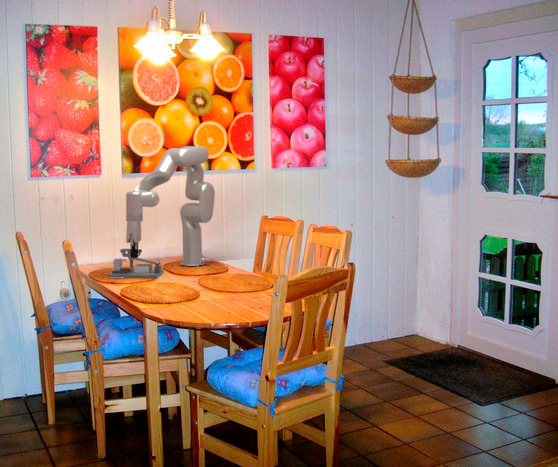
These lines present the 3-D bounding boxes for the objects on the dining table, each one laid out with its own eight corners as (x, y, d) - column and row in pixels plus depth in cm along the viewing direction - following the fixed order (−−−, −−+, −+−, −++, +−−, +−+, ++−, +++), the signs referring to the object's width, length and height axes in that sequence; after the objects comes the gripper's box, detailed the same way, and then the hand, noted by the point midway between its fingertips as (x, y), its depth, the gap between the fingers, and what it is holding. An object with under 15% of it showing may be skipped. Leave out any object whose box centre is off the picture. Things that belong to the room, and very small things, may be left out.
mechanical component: (141, 269, 338) (140, 249, 337) (120, 269, 338) (119, 249, 337) (142, 268, 341) (142, 248, 340) (122, 268, 341) (121, 248, 340)
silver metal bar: (159, 265, 323) (160, 261, 323) (158, 266, 320) (159, 262, 320) (129, 258, 323) (129, 254, 323) (127, 259, 320) (128, 255, 320)
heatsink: (152, 271, 326) (152, 263, 325) (148, 273, 319) (148, 266, 318) (137, 270, 326) (137, 263, 325) (133, 273, 319) (133, 266, 318)
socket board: (164, 272, 330) (164, 263, 329) (156, 278, 314) (156, 268, 314) (118, 272, 331) (118, 262, 330) (108, 278, 315) (108, 268, 315)
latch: (127, 270, 325) (127, 258, 324) (125, 272, 321) (124, 259, 320) (116, 270, 325) (115, 258, 324) (113, 272, 321) (113, 259, 320)
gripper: (130, 216, 327) (130, 255, 328) (121, 219, 312) (121, 259, 313) (146, 217, 326) (146, 255, 328) (138, 219, 311) (138, 259, 313)
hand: (134, 257), depth 321 cm, fingers closed
